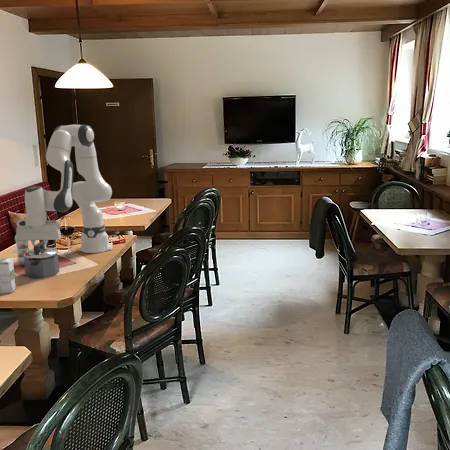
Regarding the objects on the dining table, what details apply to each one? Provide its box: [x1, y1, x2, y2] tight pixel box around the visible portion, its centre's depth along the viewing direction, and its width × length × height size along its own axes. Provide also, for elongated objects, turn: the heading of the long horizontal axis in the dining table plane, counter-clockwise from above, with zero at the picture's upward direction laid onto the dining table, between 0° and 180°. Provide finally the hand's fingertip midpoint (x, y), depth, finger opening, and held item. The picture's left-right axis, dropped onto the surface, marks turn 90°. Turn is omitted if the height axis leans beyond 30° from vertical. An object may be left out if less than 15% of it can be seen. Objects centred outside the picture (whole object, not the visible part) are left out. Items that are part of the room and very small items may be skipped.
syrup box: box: [0, 257, 17, 294], centre depth 222 cm, size 6×6×14 cm
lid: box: [23, 240, 59, 260], centre depth 245 cm, size 16×16×6 cm
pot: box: [24, 253, 60, 280], centre depth 246 cm, size 20×14×9 cm
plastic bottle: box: [14, 234, 30, 266], centre depth 261 cm, size 6×7×20 cm
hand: (40, 248), depth 245 cm, fingers closed on lid, 2 cm apart
